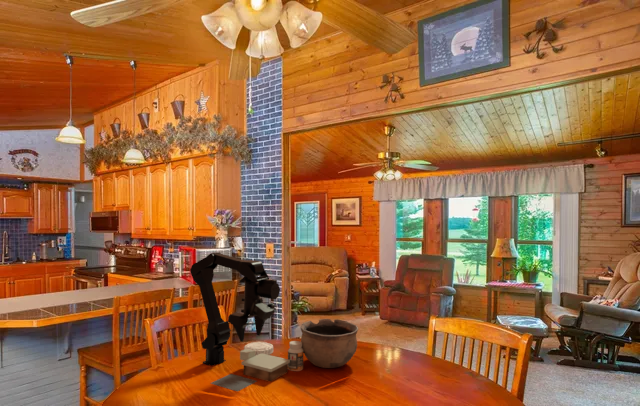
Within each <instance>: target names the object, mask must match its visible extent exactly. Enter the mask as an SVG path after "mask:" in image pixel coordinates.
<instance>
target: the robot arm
mask: <svg viewBox="0 0 640 406" xmlns="http://www.w3.org/2000/svg"><path fill="white" fill-rule="evenodd" d="M218 266H221V267H225V268H227V269H231V270H234V271H236V272H238V273H239V275H242V276H243V277H242V278H241V279H240V280H239V282H240V283H243V284H244V292H243V293H244V294H243V296H244V297H241V302H243V308H242V309H241V310H240V312H234V313H231V314H229V315H228V316H227V318H228V320H226V321H224V319H223V318H222V316H221V312H220V308H219V305H218V300H217V297H216V293H215V290H214V289H215V288H214V286H213V279H214V270H216V268H218ZM189 272H190V274H191V277H192V280H193V281H194V282H195V283H196V285H198V287H199V291H200V294H201V299H202V302H203V303H202V304H203V306H204V310H205V315H206V317H207V321H208V323H207V327H206V335H207V337H205V339H203V341H201V347H202V349H205V360H204V361H202V364H204V365H208V366H212V367H213V366H217V365H221V364H222V363H224V362H225V351H224V346H226V345H227V344H228V341H229V340H230V338H231V331H232V330H231V328H230V324H231V325H232V327H233V328H234V330H235V332H236V334H237V336H238V339H239V341H240V342H244V341H245V340H244V339H245V332H246V327H247V326H248V323H247V322H248V321H249V319H250V318H253V319H254V325H255V333H256V336H260V335H261V333H262V330H263V328H264V325H265V323H266V321H267V320H268V319H271V317H272V315H274V314H275V313H276V312H275V310H276V308H275V304H274V303H273V302H271V303H268V304H267V303H264V300H263V298H264V299H271V300H276V299H278V298H279V295H280V292H281V288H280V285H279V284H278V280H277V279H270V277H269V275H268V273H267V271H266V270H265V267H264V264H263V262H262V261H260V260H251V259H249V260H248V259H246V260H245V259H241V258H238V257H233V256H230V255H228V254H227V255H226V254H223V253H221V252H218V251H217V252H210V253H209V254H208V255H207V256H205V257H203V258H201V259H200V260H198V261H197V262H194V263H193V264H192V265H191V266H190V271H189Z"/></svg>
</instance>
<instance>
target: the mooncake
mask: <svg viewBox="0 0 640 406" xmlns="http://www.w3.org/2000/svg"><path fill="white" fill-rule="evenodd" d="M245 349H251V350H255V356H256V355H258V354H261V353H262V354H267V355H272V354H273V353H274V345H273V344H271V343H268V342H266V341H252V342H249V343H247V344H245V345H244V346H243V350H245Z"/></svg>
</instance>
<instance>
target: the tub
mask: <svg viewBox="0 0 640 406" xmlns="http://www.w3.org/2000/svg"><path fill="white" fill-rule="evenodd" d="M288 370H289V369H288V364H286V365H284V366H282V367H280V368H278V369H276V370H274V371H272V372H268V371H264V370H260V369H257V368H253V367H249V366H245V365H243V375H244V376H248V377H252V378H256V379H260V380H263V381H265V382H266V381H267V382H269V383H270V382H272V381H275V380H277V379H278V378H280V377H282V376H284V375H286V374H287V373H288V372H289V371H288Z"/></svg>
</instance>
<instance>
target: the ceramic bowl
mask: <svg viewBox="0 0 640 406" xmlns="http://www.w3.org/2000/svg"><path fill="white" fill-rule="evenodd" d="M299 327H300V331H301V333H302V334H301V336H300V337H301V338H300V342H302V347H301V348H302V349H303V355H304V356H305V358H306V359H307V361H309V362H310V363H311V364H312V365H314V366H315V367H319V368H322V369H333V368H334V369H336V368H340V367H342V366H344V365H346V364H347V363H348V362H349V361H350V360H352V358H353V356H354V355H355V354H356V352H357V348H358V339H357V333H358V331H359V327H358V325H357V324H355V323H353V322H349V321H347V320H342V319H338V318H337V319H334V320H331V318H322V319H321V318H320V319H319V320H318V322H317V323H315V322H313V321H312V320H308V321H305V322H302V323H301V325H300V326H299Z"/></svg>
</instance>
